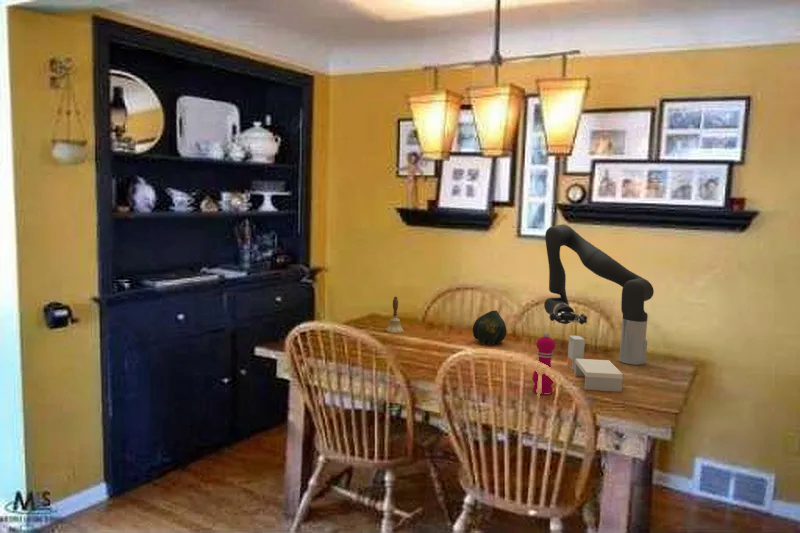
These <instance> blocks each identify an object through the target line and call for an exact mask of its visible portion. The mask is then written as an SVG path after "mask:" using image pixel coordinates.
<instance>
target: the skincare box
mask: <svg viewBox="0 0 800 533" xmlns="http://www.w3.org/2000/svg"><path fill="white" fill-rule="evenodd" d="M585 344H586V339H585V338H583V337H582V336H580V335H568V347H567V362H566V365H567V366H566V367H568V368H570V369H571V370H572V371H575V359H585V358H584V357H585Z"/></svg>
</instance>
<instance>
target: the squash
mask: <svg viewBox="0 0 800 533" xmlns="http://www.w3.org/2000/svg"><path fill="white" fill-rule="evenodd" d="M471 331H472V335H473V337H474V339H475V340H477V341H479V343H480V344H482V345H483V344H485V345H489V346H491V345H493V344H499V343H501V342H503V341H504V340H505V338H506V336H507V326H506V324H505V321H504V319H503V318H502V316H501V315H500V312H498V310H491V311H488V312H487V313H486V312H485V313H484V314H482V315H481V316H479V317H478V318H477V319H475V321H474V323H473V326H472V330H471Z"/></svg>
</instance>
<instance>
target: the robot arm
mask: <svg viewBox="0 0 800 533" xmlns="http://www.w3.org/2000/svg"><path fill="white" fill-rule="evenodd" d="M544 238H545V239H544V240H545V247H546V255H547V261H548V271H549V272H548V273H549V274H548V275H549V276H548V277H549V278H548V290H549V293H551V294H555V295H559V297H548V298H546V300H544V304H543V305H544V306H543V307H544V311H545V312H546V313H547V314H548V315H549V316H548V317H549V320H550V321H551V322H552V321H553V322H554V321H555V322H557V323H559V324H563V325H567V324H570V323H575V324H578V323H579V324H580V325H584V324H587V322H588V316H587V315H585V314H584V313H580V314H579V313H575V310H574V309H573V308H572V307H571V306H570V303H569V300H568V297H567V292H566V290H567V289H566V280H567V279H566V278H567V277H566V271H565V268H564V266H563V263H562V260H561V259H562V258H561V247H563V246H565V247H567V248H569V249H570V250H572V251H573V252H574V253H576V254H577V256H578V258H579V260H580V261H581V263H582V265H583V267H585V268H586V269H588V270H589V271H591V272H592V274H595V275H597V276H598V277H599V278H603V279H605V280H607V281H610V282H612V283H615V284H617V285H619V286H620V287H622V289H621V303H620V304H621V313H622V319H621V320H622V321H621V332H620V344H619V345H620V346H619V356H618V357H619V359H618V360H619V362H621V363H623V364H627V365H639V366H640V365H646V359H647V349H648V340H647V339H646V337H647V328H648V318H649V317H648V316H649V314H648V313H647V312H646V311H645V308H644V307H645V302H648V301H649V300H650V299H652V298H653V296H654V294H655V293H654V292H655V291H654V287H653V285H652V283H651V282H650V281H649V280H647V279H646V278H644V277H642V276H640V275H638V274H636V273H634V272H632V271H631V270H629V269H627V267H625V266H623V265H622V264H621V263H620V262H618V261H617V260H615V259H614V258H612V257H611V256H610V255H608V254H607V253H606V252H604V251H603V250H601V249H600V248H598V247H596V246H595V245H593V244H592V243H591V242H590V241H588V240H587V239H585V238H584V237H582V236H581V235H580V234H579V233H578V232H576V231H575V230H574V229H573V228H572V226H571V227H570V226H569V225H568V224H558V225H554V226H553V225H552V226H550V227H548V228H547V230H546V231H545V236H544Z"/></svg>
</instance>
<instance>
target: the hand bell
mask: <svg viewBox="0 0 800 533" xmlns="http://www.w3.org/2000/svg"><path fill="white" fill-rule="evenodd" d="M392 308H393V315H392V318H390V320H389V325H388V326H387V328H386V329H385V331H386V332H387V333H392V334H399V333H403V332H404V329H403V327H402V326H401V320H400V318H398V308H399V299H398V296H394V297H393V301H392Z"/></svg>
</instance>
